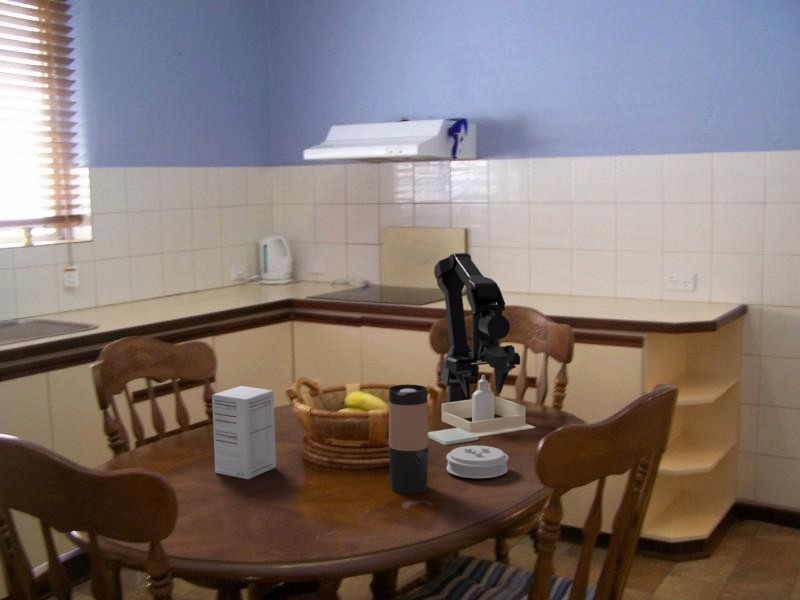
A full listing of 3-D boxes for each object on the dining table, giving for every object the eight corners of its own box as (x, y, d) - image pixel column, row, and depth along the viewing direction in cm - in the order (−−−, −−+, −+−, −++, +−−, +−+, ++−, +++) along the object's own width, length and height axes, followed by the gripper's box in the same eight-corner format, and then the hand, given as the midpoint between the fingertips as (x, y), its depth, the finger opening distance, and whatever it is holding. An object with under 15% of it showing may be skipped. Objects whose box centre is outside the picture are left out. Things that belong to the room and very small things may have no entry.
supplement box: (243, 461, 206) (241, 385, 203) (277, 467, 201) (275, 389, 199) (213, 473, 197) (210, 393, 195) (247, 480, 193) (245, 398, 191)
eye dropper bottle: (471, 420, 238) (471, 373, 237) (493, 420, 238) (493, 373, 237) (472, 425, 234) (472, 377, 232) (495, 425, 234) (495, 377, 233)
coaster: (425, 435, 224) (425, 432, 224) (458, 430, 229) (458, 427, 229) (445, 445, 217) (445, 441, 217) (478, 439, 221) (478, 436, 221)
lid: (470, 486, 188) (470, 462, 187) (434, 470, 199) (434, 447, 198) (520, 475, 195) (520, 452, 194) (483, 460, 205) (483, 438, 205)
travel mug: (419, 480, 191) (418, 382, 189) (434, 491, 184) (434, 390, 182) (383, 485, 189) (382, 386, 186) (397, 496, 182) (396, 394, 179)
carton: (441, 421, 238) (441, 403, 238) (495, 413, 246) (495, 396, 245) (478, 437, 223) (479, 418, 223) (535, 428, 231) (535, 410, 230)
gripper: (468, 341, 222) (468, 406, 224) (533, 334, 231) (533, 397, 233) (444, 334, 232) (444, 396, 234) (507, 328, 240) (507, 388, 242)
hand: (483, 395), depth 235 cm, fingers open, 9 cm apart
